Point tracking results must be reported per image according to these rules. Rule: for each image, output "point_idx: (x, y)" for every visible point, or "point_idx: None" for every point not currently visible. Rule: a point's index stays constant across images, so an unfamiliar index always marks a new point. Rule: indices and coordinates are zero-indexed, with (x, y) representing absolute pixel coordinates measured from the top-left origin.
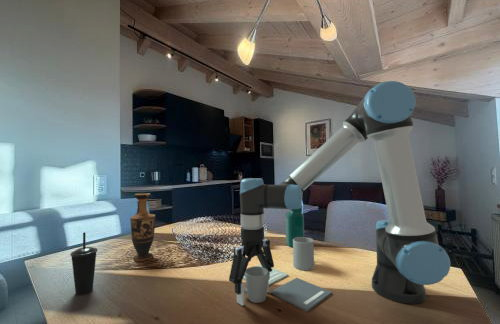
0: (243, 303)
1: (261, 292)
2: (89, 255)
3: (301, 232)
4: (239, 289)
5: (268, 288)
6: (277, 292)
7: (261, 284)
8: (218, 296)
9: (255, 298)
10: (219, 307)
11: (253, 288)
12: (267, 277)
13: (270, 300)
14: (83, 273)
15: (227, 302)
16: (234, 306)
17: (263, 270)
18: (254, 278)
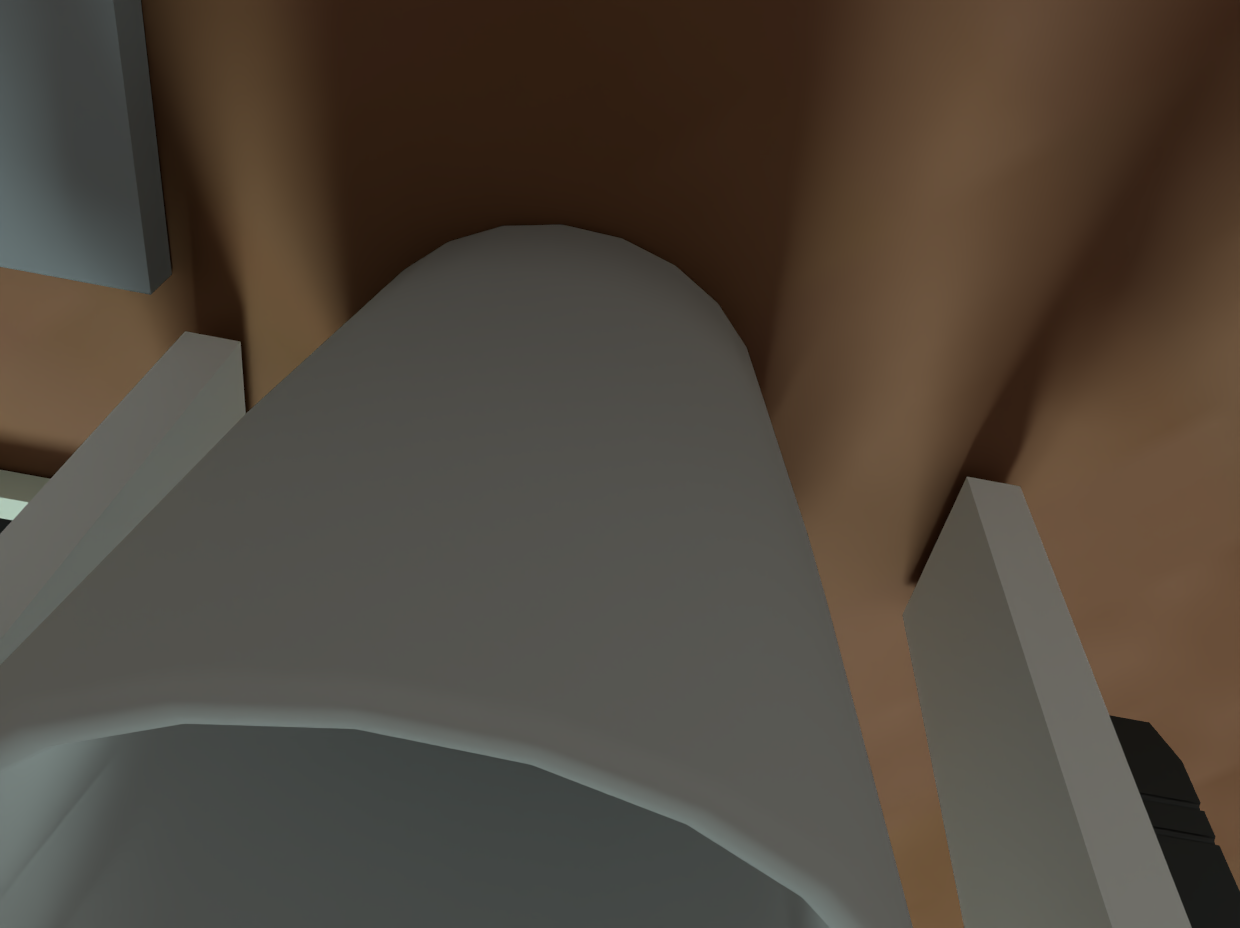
0: (997, 503)
1: (656, 352)
2: None
3: None
4: (1156, 822)
5: (156, 378)
6: (41, 127)
7: (661, 500)
8: (909, 877)
9: (757, 390)
10: (1203, 738)
11: (823, 594)
12: (246, 544)
13: (418, 110)
14: None
15: None
16: (1065, 585)
17: (9, 879)
18: (895, 875)
